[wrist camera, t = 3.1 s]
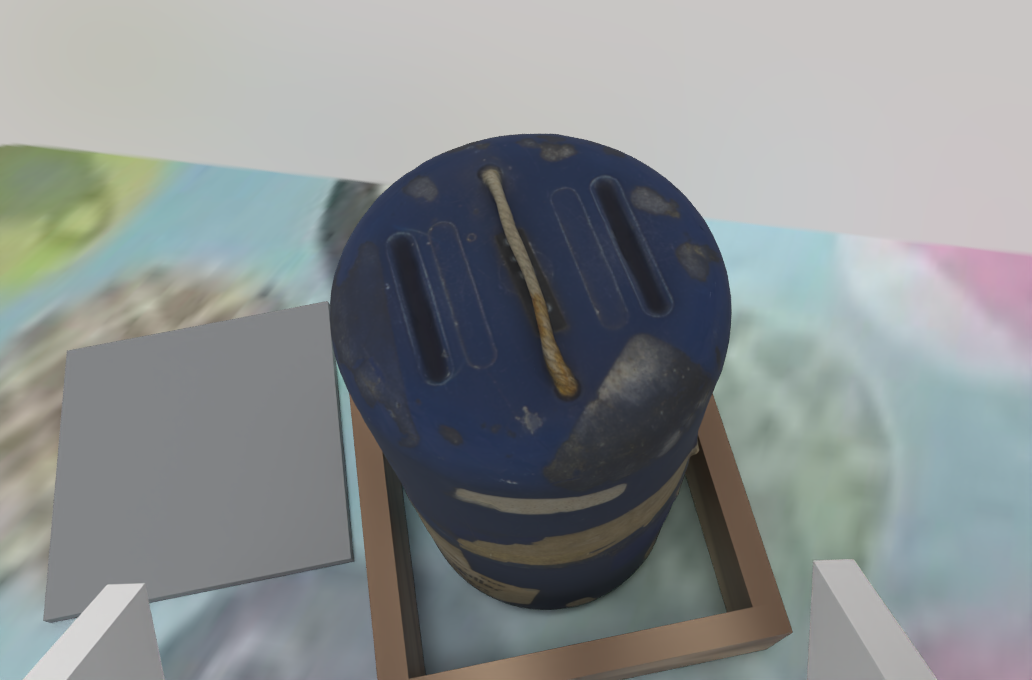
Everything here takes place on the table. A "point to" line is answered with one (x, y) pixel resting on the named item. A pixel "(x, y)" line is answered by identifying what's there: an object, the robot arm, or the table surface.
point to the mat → (199, 460)
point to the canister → (534, 356)
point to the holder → (599, 663)
